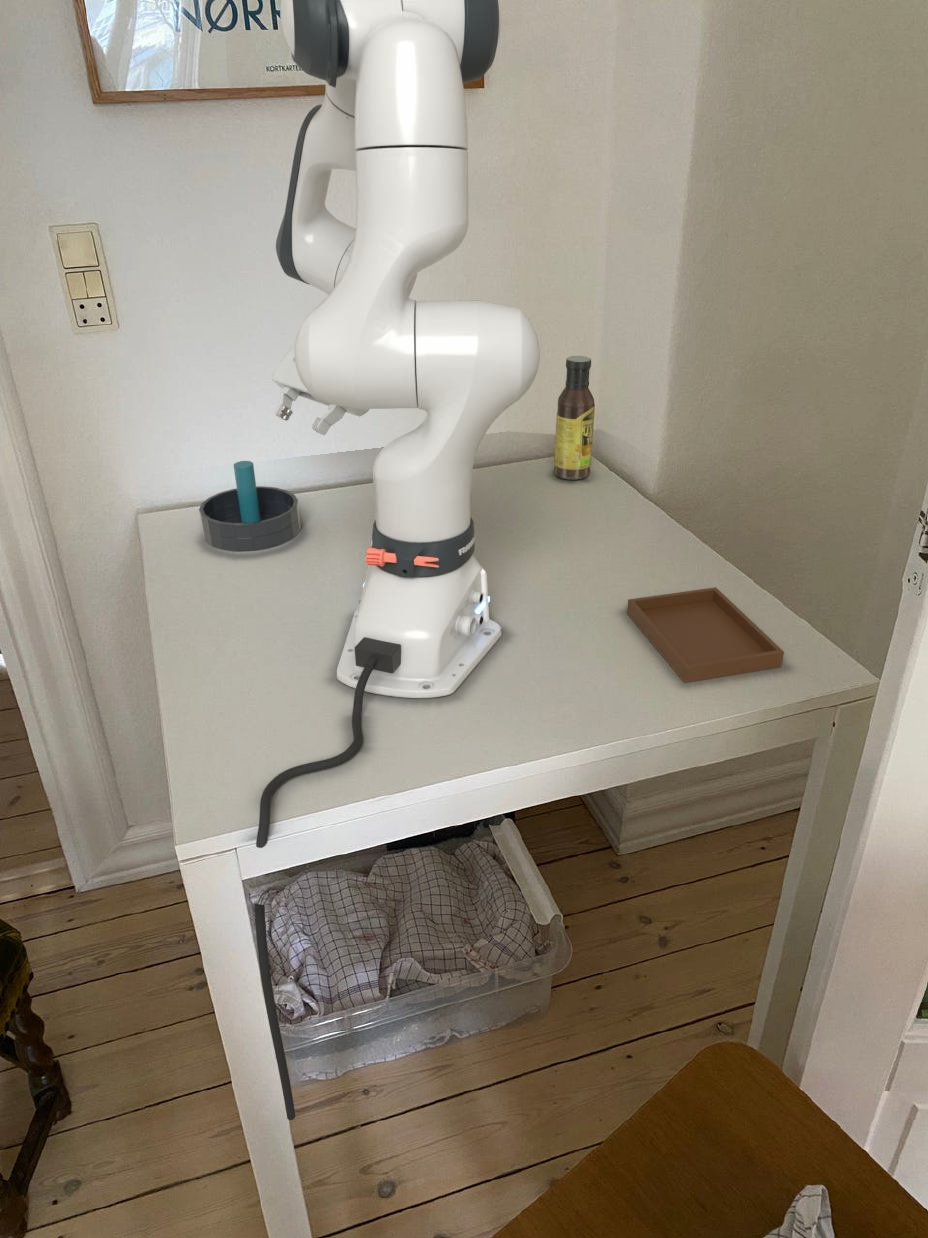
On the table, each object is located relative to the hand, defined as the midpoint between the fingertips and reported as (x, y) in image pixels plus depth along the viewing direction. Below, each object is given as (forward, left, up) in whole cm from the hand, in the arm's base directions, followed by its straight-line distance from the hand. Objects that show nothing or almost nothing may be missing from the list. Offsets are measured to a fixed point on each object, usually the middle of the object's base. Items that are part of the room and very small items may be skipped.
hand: (298, 424), depth 137 cm
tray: (-24, -61, -15) cm, 67 cm away
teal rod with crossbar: (-9, +5, -14) cm, 17 cm away
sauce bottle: (+26, -38, -15) cm, 48 cm away
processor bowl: (-9, +5, -15) cm, 18 cm away
